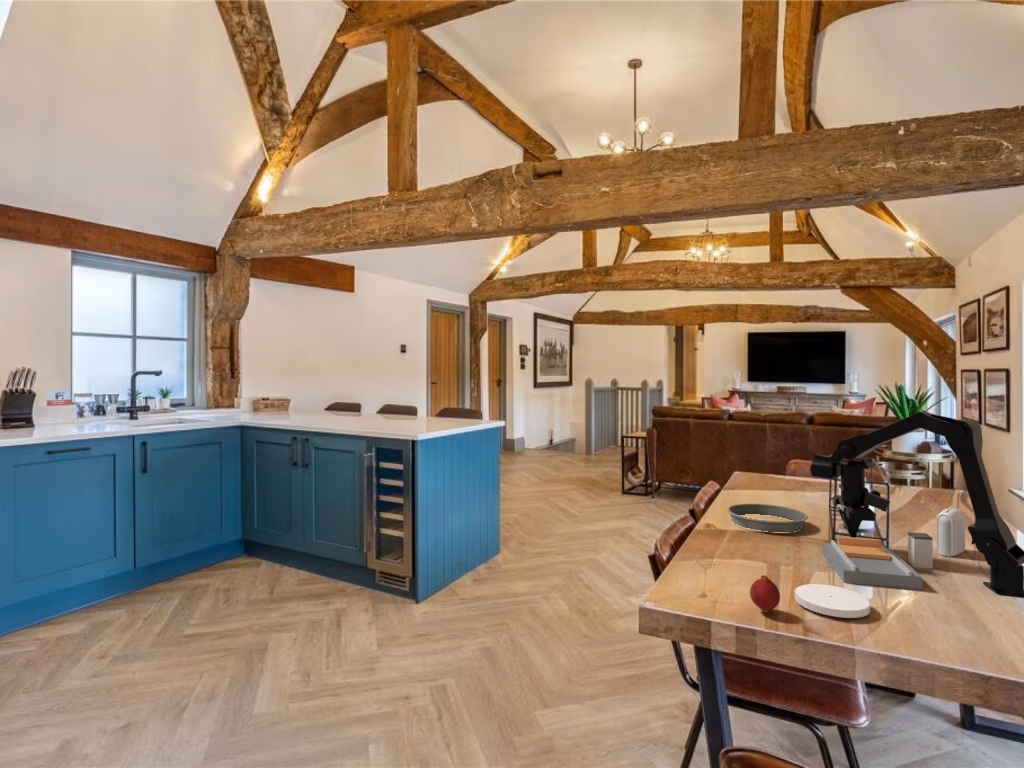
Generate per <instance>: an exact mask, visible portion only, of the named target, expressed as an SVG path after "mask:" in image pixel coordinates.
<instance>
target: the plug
mask: <svg viewBox="0 0 1024 768" xmlns="http://www.w3.org/2000/svg"><path fill="white" fill-rule="evenodd" d="M907 540H908V541H907V551H908V553H907V554H908V555H907V556H908V557H907V558H908V560H907V561H908V563H909V564H910V565H911V566H912V568H913V567H914V568H918V569H919V568H920V569H932V570H933V564H934V563H933V562H934V561H933V558H934V557H933V537H932V536H931V535H929V534H927V533H925V532H908V533H907Z"/></svg>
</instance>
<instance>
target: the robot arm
mask: <svg viewBox="0 0 1024 768" xmlns="http://www.w3.org/2000/svg"><path fill="white" fill-rule="evenodd" d="M921 429H923V430H925V431H928V432H930V433H932V434H935V435H939V436H942V437H944V439H945V441H946V442H947V444H948V447H949V448H950V449H951V451H952V452H953V453H954V454H955V456H956V457H957V459H958V461H959V466H960V469H961V472H962V476H963V480H964V482H965V486H966V490H967V492H968V496H969V499H970V502H971V507H972V510H973V513H974V516H975V518H974V519H975V521H974V523H972V524H970V525H968V526H967V531H968V533H969V535H970V538H971V545H975V548H976V550H977V551H978V552H979V553H980V554H982V555H983V556H984V559H985V561H986V563H987V565H988V566H989V567H990V568H989V571H990V572H989V581H982V584H983V585H984V586H985V587H987V588H988V589H989V590H991V591H993V592H994V593H995V594H998V595H1003V596H1004V595H1006V596H1014V597H1015V596H1016V597H1024V565H1023V564H1024V549H1023V548H1022V547H1020V545H1018V544H1017V543H1016V542H1017V541H1016V539H1015V537H1014V535H1013V533H1012V532H1011V529H1010V527H1009V526H1008V525H1007V523H1006V522H1005V521H1004V519H1003V517H1001V515H1000V513H999V509H998V506H997V503H996V499H995V496H994V493H993V490H992V487H991V484H990V480H989V477H988V472H987V470H986V466H985V463H984V460H983V456H982V451H983V442H984V441H983V430H982V427H981V425H980V424H979V423H978V422H977V421H975V420H973V419H969V418H962V419H961V418H960V419H956V418H952V417H948V416H942V415H938V414H935V413H932V412H928V411H924V410H923V411H917V412H913V413H912V414H911V415H908V416H906V417H904V418H902V419H900V420H897V421H895V422H892V423H890V424H888V425H885V426H883V427H880V428H878V429H876V430H873V431H871V432H868V433H865V434H859V435H855V436H851V437H847V438H843V439H841V440H840V441H839V442H838V443H837V447H836V448H837V449H836V450H835V451H834V452H833V454H831V455H824V454H820V453H818V454H817V453H816V454H814V456H813V460H812V461H811V465H810V467H809V469H810V470H809V471H810V473H811V476H812V477H813V478H818V479H825V480H831V481H833V480H834V481H835V480H837V479H838V478H839V477H840V483H839V484H838V488H839V489H840V494H839V495H837V494H835V495H834V496H833V497H832V505H833V506H834V507H838V505H839V506H840V509H837V512H838V513H839V516H840V518H841V520H842V522H843V525H844V526H845V529H846V531H847V534H848V536H849V537H854V538H857V535H858V532H859V530H860V526H861V523H862V522H863V521H864V522H876V521H877V513H875V511H873V510H872V509H871V508H870V506H871V507H873V508H876V509H879V510H880V511H882V512H885V513H886V512H887V511H888V508H889V506H890V503H891V501H890V500H889V499H888V498H886V497H883V496H881V492H880V491H878V490H876V489H872V490H870V491H869V488H868V487H866V469H867V470H868V469H873V468H875V465H874V464H872V463H871V462H870V461H869V460H868V458H864V459H862V460H853V459H858V458H863V457H865V456H867V455H868V454H869V453H871V452H873V451H874V450H876V448H878V447H880V446H881V445H883V444H886V443H888V442H890V441H893V440H896V439H898V438H900V437H904V436H906V435H909V434H911V433H912V432H915V431H918V430H921ZM846 460H847V461H848V460H849V461H848V462H842V461H846Z"/></svg>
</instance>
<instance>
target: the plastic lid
mask: <svg viewBox="0 0 1024 768" xmlns="http://www.w3.org/2000/svg"><path fill="white" fill-rule="evenodd" d="M794 599H795V602H796V603H798V604H799V605H800V606H801V607H803V608H805V609H807V610H810V611H813V612H816V613H818V614H822V615H824V616H825V615H826V616H830V617H836V618H844V619H845V618H846V619H852V618H853V619H858V618H863V617H866V616H868V615H870V613H871V603H870V602H871V601H870V600H869V599H868V598H866V596H864V595H862V594H860V593H858V592H856V591H853V590H850V589H846V588H843V587H841V586H836V585H829V584H822V583H821V584H820V583H819V584H818V583H816V584H815V583H813V584H812V583H811V584H810V583H808V584H807V583H806V584H802V585H800V586H797V587H795V588H794Z"/></svg>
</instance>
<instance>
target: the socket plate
mask: <svg viewBox="0 0 1024 768" xmlns="http://www.w3.org/2000/svg"><path fill="white" fill-rule="evenodd" d="M835 541H836V540H833V539H831V540H830V543H826V542H822V555H823V556H824V558H825V557H826V558H825V559H826V560H827V561H828V563H829V564H830V566H831V567H832V569H833V568H834V569H833V570H834V572H837V573H836V574H837V576H838V575H839V576H840V577H839V576H838V577H839V578H840V580H841V579H842V580H841V581H842V582H843V583H844V582H849V583H848V584H854V583H860V584H859V585H864V584H867V585H868V586H876V587H886V588H887V587H888V588H895V589H896V588H897V589H898V588H899V589H907V590H916V589H917V591H923V577H922V576H921V574H919V573H918V571H916V570H915V569H914V568H913V567H911V566H910V565H909V564H908V563H907V562H906V561H904V559H902V558H901V557H900V555H898V554H897V553H896V552H895V551H894V550H893V549H891V548H890V547H885V546H883V545H882V544H881V548H882V549H883V550H884V551H886V552H887V553H888V554H889V555H890V556H891V560H884V559H872V558H860V557H848V556H846V554H845V553H844V552H843V551H842V550H841V549H840V547H839V546H838V545H837V543H836V542H835ZM867 585H866V586H867Z"/></svg>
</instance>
